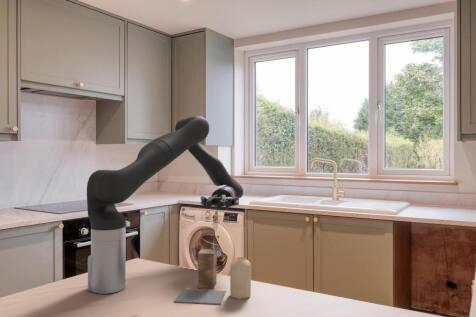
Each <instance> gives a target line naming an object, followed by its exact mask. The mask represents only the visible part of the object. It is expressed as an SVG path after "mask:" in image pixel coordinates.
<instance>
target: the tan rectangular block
mask: <svg viewBox="0 0 476 317" xmlns="http://www.w3.org/2000/svg"><path fill="white" fill-rule="evenodd" d="M216 285H217V249H213V248H211V249H210V248H208V249H207V248H201V249H200V250H199V251H198V252H197V289H201V290H215V287H216Z"/></svg>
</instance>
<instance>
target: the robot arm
mask: <svg viewBox="0 0 476 317" xmlns="http://www.w3.org/2000/svg"><path fill="white" fill-rule="evenodd" d="M209 133H210V124H209V122H208V120H207V119H206V118H205V117H203V116H200V115H194V116H190V117H186V118H183V119H180V120H177V122H176V124H175V128H174V130H173V131H171V132H168V133H166V134H163V135H161V136H158V137H157V138H155V139H153V140H151V141H149V142H148V143H147V144H145V145H144V146H143V147H141V148H140V150H139V151H138V153H137V156H136V159H135V160H134V161H133V162H132V163H130V164H128V165H126V166H125V167H122V168H120V169H118V170H116V169H97V170H95V171H94V172H92V173H91V174H90V176H89V178H88V179H87V183H86V203H87V205H86V206H87V217H88V219H89V223H90V255H88V257H87V291H88V292H93V293H94V294H101V295H104V294H105V295H107V294H114V293H117V292H118V293H119V292H121V291H123V290H125V289H126V281H127V280H126V276H127V275H126V273H127V269H126V265H127V264H126V261H127V259H126V258H127V257H126V255H127V254H126V252H127V251H126V248H127V247H126V244H127V243H126V237H127V236H126V230H127V228H126V217H125V216H124V215H123V214H122V213H121V212H119V210H118V209H117V208H116V204H121V203H123V202H125V201H127V200H129V198H130V197H132V196H133V194H134V193H136V191H137V190H139V188H141V186H143V185H144V184H145V183H146V182H147V181H149V179H151V178H152V177H153V176H154V175H156V174H157V173H159V172H160V171H162V170H163V169H165V168H166V167H167V166H169V165H170V164H171V163H172V162H173V161H175V160H176V159H178V157H180V156H181V155H182V154H184V153H185V152H186V151H187V150H188V152H189V153H190V154H191V155H192V156H193V158H194V159H196V161H197V162H198V164H200V165H201V167H202V168H203V169H204V171H205V172H206V174H207V175H208V177H209V179H210V180H211V182H212V183H213V185H215V186H216V187H219V188H217V189H215V190H214V191H213V192H212V193H211V196H209V197H207V196H202V195H201V196H200V204H201V205H202V206H203V207H207V209H208V208H210V209H211V208H212V207H214V209H216V210H219V211H224V210H227V209H229V208H231V207H234V206H239V205H240V199H241V198H242V197H243V195H244V189H243V187H242V185H241V184H240V183H239V182H238V181H237V180H236V179H235V178H233V177H232V175H231V174H230V173H229V172H228V171H227V168H226V167H225V166H224V163H222V161H221V160H220V159H219V158H218V157H217V156H215V155H214V153H212V152H211V151H209V150H207V149H206V148H205V147H204V146H203V145H202V144H201V143H200V142H203V141H205V139H206V138H207V137H208V136H209ZM221 186H222V187H221Z"/></svg>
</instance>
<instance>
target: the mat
mask: <svg viewBox="0 0 476 317" xmlns="http://www.w3.org/2000/svg"><path fill="white" fill-rule="evenodd" d="M226 292H227V291H226V290H220V289H219V290H218V289H217V290H216V289H202V288H197V289H196V288H182V290H181V291H180V292H179V293H178V295H177V297H175V299H174V301H173V303H181V304H182V303H185V304H201V305H202V304H203V305H219V306H220V305H221V304H222V301H223V299H224V296H225V294H226Z"/></svg>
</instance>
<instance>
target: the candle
mask: <svg viewBox="0 0 476 317" xmlns="http://www.w3.org/2000/svg"><path fill="white" fill-rule="evenodd" d="M251 264H252V263H251V262H250V261H249V260H248V259H247V258H246V257H245V256H241V257H240V256H239V257H237V258H236V257H235V258H233V260H232V261H231V262H230V270H229V271H230V272H229V273H230V276H229V277H230V280H229V281H230V287H229V288H230V289H229V291H230V292H229V293H230V294H229V295H230V297H231V298H234V299H239V300H243V299H248V298H250V297H251V292H252V284H251V283H252V278H251V277H252V272H251V271H252V265H251Z"/></svg>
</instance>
